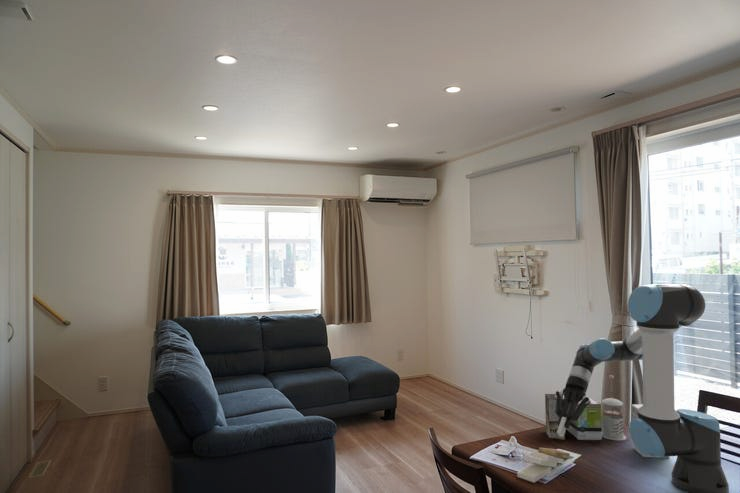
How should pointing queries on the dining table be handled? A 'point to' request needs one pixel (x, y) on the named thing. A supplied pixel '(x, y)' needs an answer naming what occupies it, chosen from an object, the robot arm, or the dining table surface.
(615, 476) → the dining table surface
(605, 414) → the french press
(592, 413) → the tea box
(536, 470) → the ivory tile
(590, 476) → the dining table surface
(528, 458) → the ivory tile
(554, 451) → the ochre tile
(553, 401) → the coffee box
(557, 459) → the ivory tile
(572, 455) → the mat
